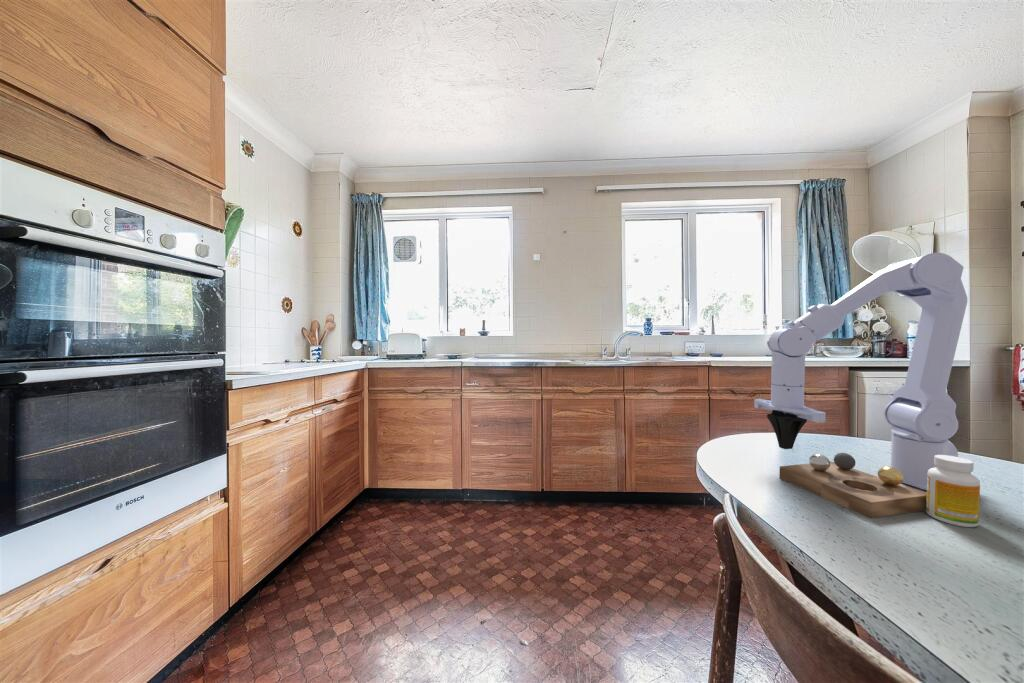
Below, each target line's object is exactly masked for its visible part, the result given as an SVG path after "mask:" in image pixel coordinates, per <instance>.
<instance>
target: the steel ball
mask: <svg viewBox="0 0 1024 683" xmlns="http://www.w3.org/2000/svg"><path fill="white" fill-rule="evenodd" d="M809 463H810V465H811V467H812V468H814V469H815V470H818V471H826V470H827V469H829V467H830V460H829V458H828V457H827V456H825V455H824V454H821V453H815V454H812V455H811V456H809V459H808V464H809Z"/></svg>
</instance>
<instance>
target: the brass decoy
mask: <svg viewBox="0 0 1024 683" xmlns="http://www.w3.org/2000/svg"><path fill="white" fill-rule="evenodd" d="M877 477H879V479H880V480H881V481H882V482H884V483H885V484H888V485H893V486H894V485H899V484H901V485H902V484H903V483H902V482H903V475H902V473H901V472H900V471H899V470H898V469H896V468H894V467H891V465H889V466H887V465H886V466H882V467H880V468H879V469H878V470H877Z"/></svg>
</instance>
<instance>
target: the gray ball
mask: <svg viewBox="0 0 1024 683" xmlns="http://www.w3.org/2000/svg"><path fill="white" fill-rule="evenodd" d="M833 462H834V463H835V464H836V465H837V466H838V467H839V468H841V469H844V470H849V469H852V468H853V469H854V468H855V466H856V459H855V458H854V456H852V455H851V454H849V453H847V452H838V453H837V454H835V455H834V456H833Z"/></svg>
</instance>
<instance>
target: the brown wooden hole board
mask: <svg viewBox="0 0 1024 683" xmlns="http://www.w3.org/2000/svg"><path fill="white" fill-rule="evenodd" d="M829 461H830V460H829ZM778 475H779V477H778V478H779V479H780V480H781V481H784V482H786V483H789V484H791V485H794V486H796V487H798V488H801V489H803V490H805V491H808V492H810V493H812V494H814V495H817V496H819V497H821V498H824V499H826V500H828V501H830V502H832V503H836V504H837V505H840V506H842V507H845V508H847V509H848V510H849V509H850V510H852V511H854V512H856V513H857V514H861V515H863V516H865V517H868V518H871V519H873V518H879V517H881V518H882V517H887V516H895V515H899V514H901V515H902V514H909V513H914V512H915V513H916V512H923V511H926V498H927V492H925V491H923V490H922V491H921V490H919V489H916V488H912V487H911V486H906V485H904V484H902V483H901V484H899V485H894V486H893V485H888V484H885V483H884V482H882V481H881V480H880V479H879V477H878V475H873V474H870V473H867V472H865V471H861V470H858V469H854V468H852V469H849V470H844V469H841V468H839V467H838V466H837V465H836V464H835V463H834V461H830V467H829V469H827V470H826V471H818V470H815V469H814V468H812V467H811V465H810V463H809V462H808V463H802V464H801V463H800V464H791V465H790V464H789V465H780V466H779V474H778Z"/></svg>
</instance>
